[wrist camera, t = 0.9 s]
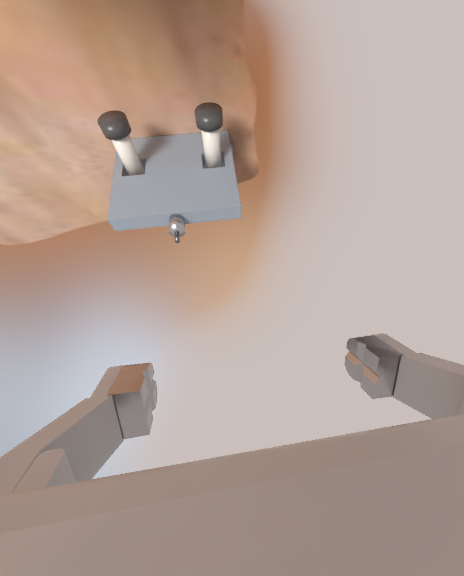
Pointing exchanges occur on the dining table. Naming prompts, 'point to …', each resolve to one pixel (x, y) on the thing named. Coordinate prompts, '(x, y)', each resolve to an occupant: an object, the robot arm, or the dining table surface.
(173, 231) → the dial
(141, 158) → the mount
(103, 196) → the dining table surface
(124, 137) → the knob
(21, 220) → the dining table surface
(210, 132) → the knob
